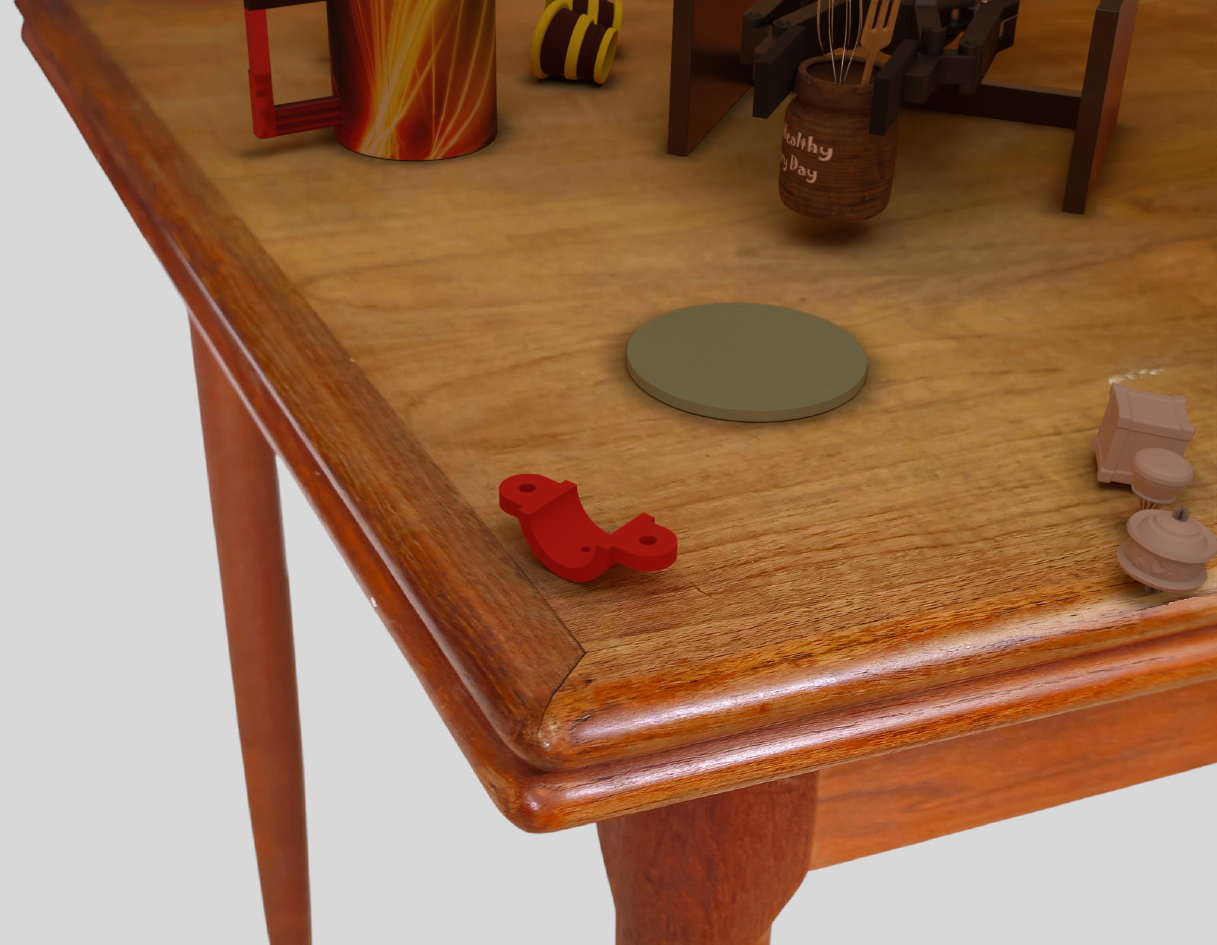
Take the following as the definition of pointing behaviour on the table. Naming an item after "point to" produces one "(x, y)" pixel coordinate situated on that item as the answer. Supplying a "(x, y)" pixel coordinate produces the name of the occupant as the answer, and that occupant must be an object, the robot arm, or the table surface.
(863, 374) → the rubber mat
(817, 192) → the utensil holder
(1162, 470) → the toy set
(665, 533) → the pipe clamp
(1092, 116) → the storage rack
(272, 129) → the mug
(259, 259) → the table surface
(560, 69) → the opera glasses
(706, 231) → the table surface
